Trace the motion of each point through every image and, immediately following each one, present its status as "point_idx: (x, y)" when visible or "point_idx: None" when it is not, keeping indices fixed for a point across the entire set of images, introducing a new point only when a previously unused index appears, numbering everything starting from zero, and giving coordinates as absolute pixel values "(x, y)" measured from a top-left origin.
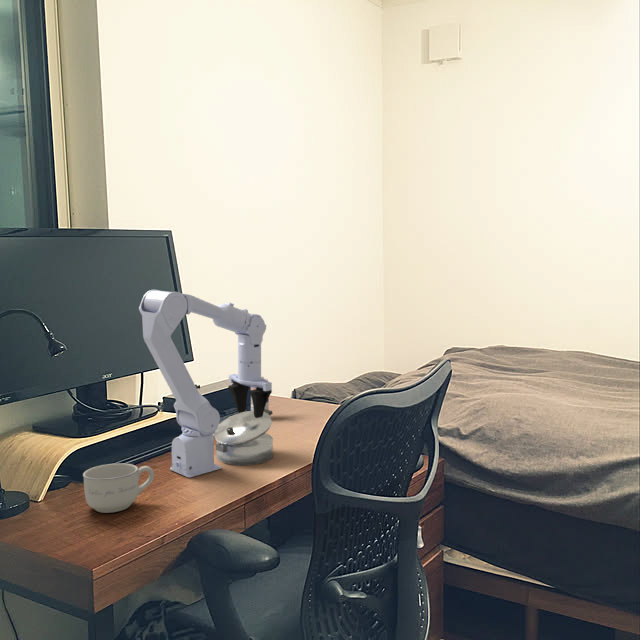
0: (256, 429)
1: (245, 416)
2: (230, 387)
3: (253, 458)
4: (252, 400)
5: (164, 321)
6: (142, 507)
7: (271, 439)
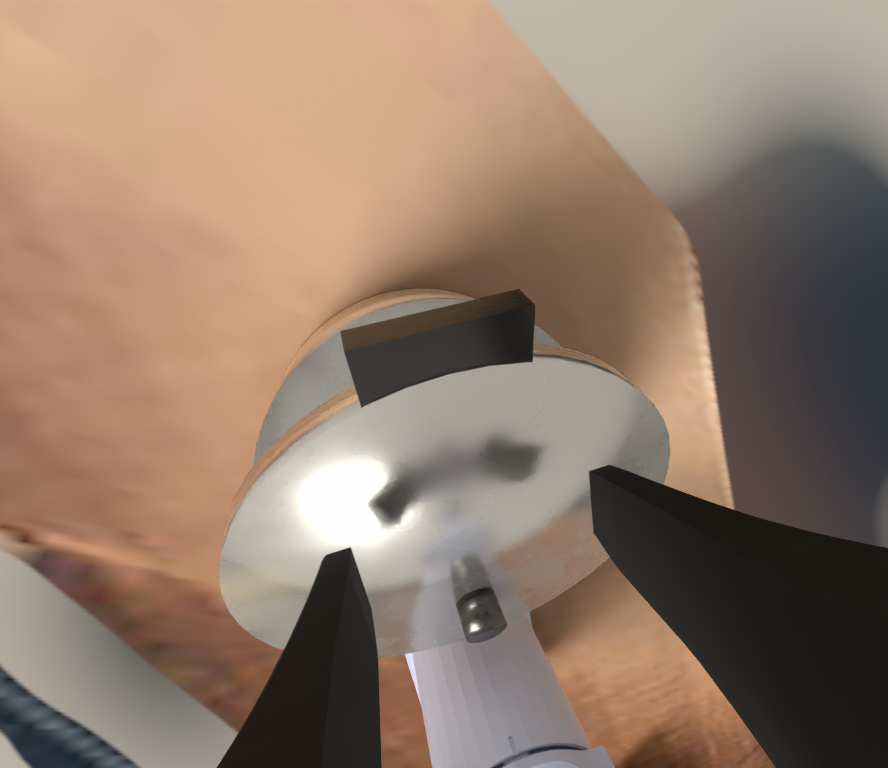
0: None
1: (355, 514)
2: None
3: None
4: (748, 725)
5: None
6: (636, 761)
7: (545, 340)
